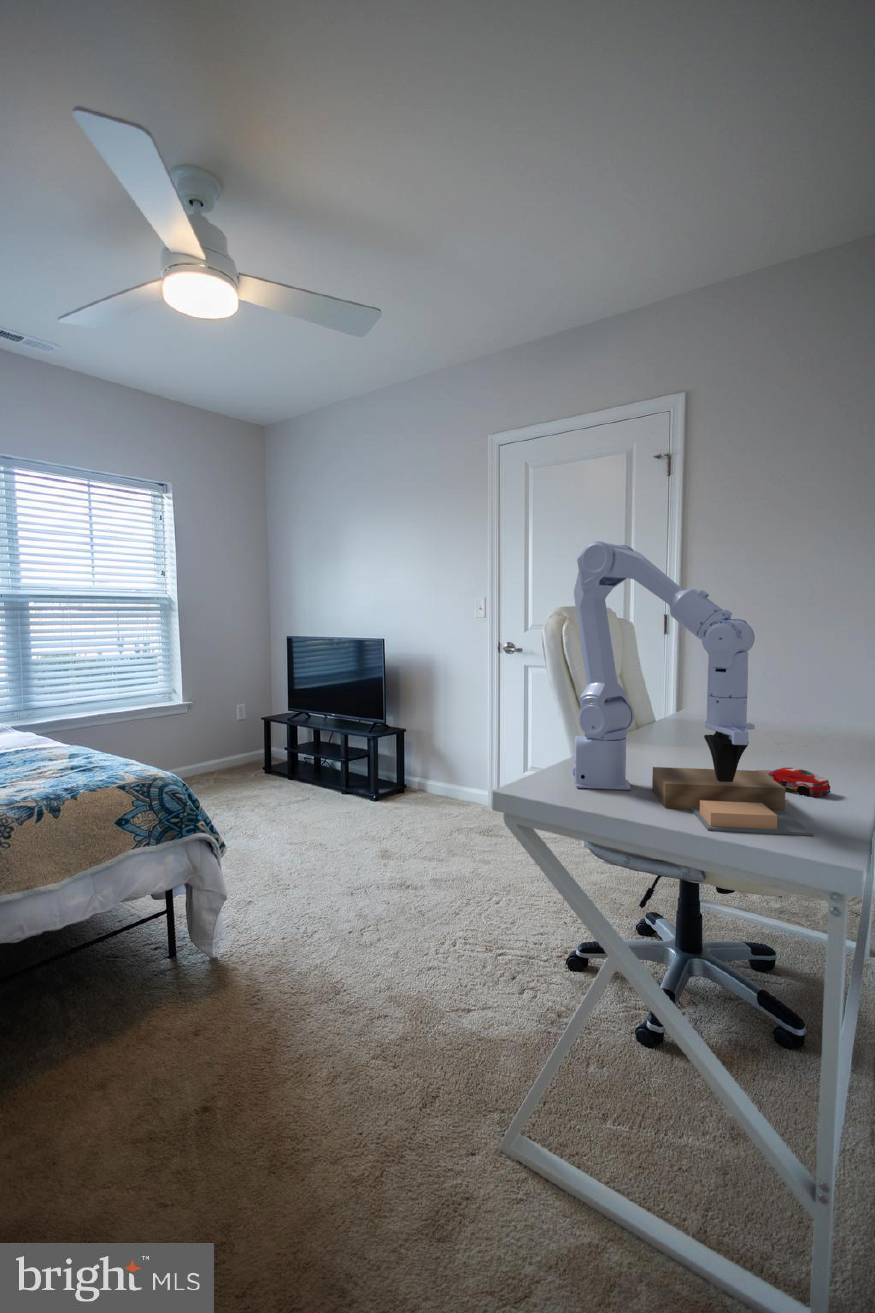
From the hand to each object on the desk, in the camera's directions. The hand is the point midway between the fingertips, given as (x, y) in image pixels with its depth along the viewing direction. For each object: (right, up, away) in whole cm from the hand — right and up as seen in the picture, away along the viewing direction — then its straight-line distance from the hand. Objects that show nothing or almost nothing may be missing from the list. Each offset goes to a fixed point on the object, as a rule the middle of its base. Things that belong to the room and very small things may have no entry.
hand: (724, 780), depth 97 cm
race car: (+17, -5, +13) cm, 22 cm away
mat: (+1, -5, -5) cm, 7 cm away
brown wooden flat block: (+1, -4, +6) cm, 7 cm away
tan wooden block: (-1, -3, -6) cm, 7 cm away
